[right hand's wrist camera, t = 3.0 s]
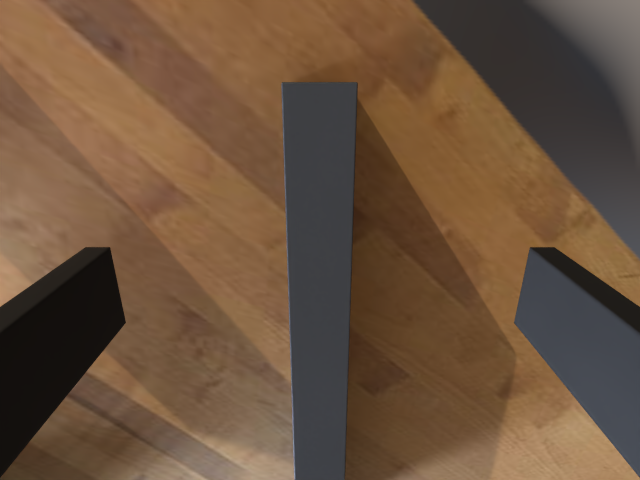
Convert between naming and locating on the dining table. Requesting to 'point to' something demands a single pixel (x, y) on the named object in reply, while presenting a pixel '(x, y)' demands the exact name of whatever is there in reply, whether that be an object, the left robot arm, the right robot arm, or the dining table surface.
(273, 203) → the dining table surface
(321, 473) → the bar
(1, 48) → the dining table surface
